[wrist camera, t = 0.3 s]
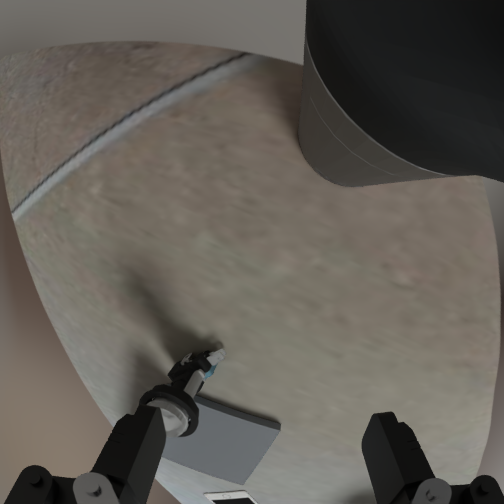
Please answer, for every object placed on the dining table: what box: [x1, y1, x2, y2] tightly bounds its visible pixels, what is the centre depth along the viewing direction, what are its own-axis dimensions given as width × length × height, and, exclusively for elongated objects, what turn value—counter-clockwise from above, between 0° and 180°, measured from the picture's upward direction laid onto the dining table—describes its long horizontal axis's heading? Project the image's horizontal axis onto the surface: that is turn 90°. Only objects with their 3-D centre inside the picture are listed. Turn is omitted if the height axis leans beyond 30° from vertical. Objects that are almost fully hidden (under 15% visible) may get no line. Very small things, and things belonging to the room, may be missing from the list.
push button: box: [139, 348, 226, 438], centre depth 25 cm, size 7×5×10 cm
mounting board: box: [161, 384, 281, 485], centre depth 30 cm, size 14×14×5 cm
